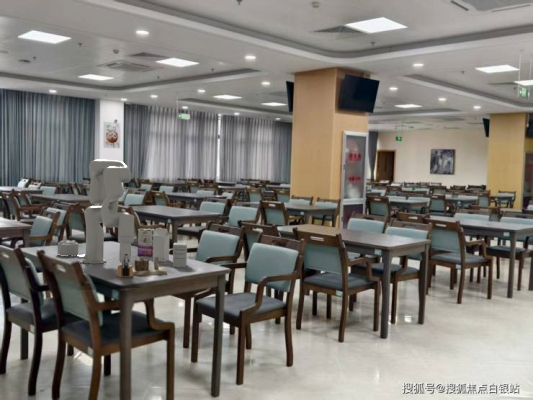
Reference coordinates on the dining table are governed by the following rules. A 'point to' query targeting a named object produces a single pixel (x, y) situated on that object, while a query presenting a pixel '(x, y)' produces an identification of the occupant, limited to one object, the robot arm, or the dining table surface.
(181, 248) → the supplement box
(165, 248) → the milk carton
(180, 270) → the dining table surface
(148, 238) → the candy bar box
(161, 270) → the gear board
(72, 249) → the lumpy-topped squat cylinder
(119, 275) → the orange gear
